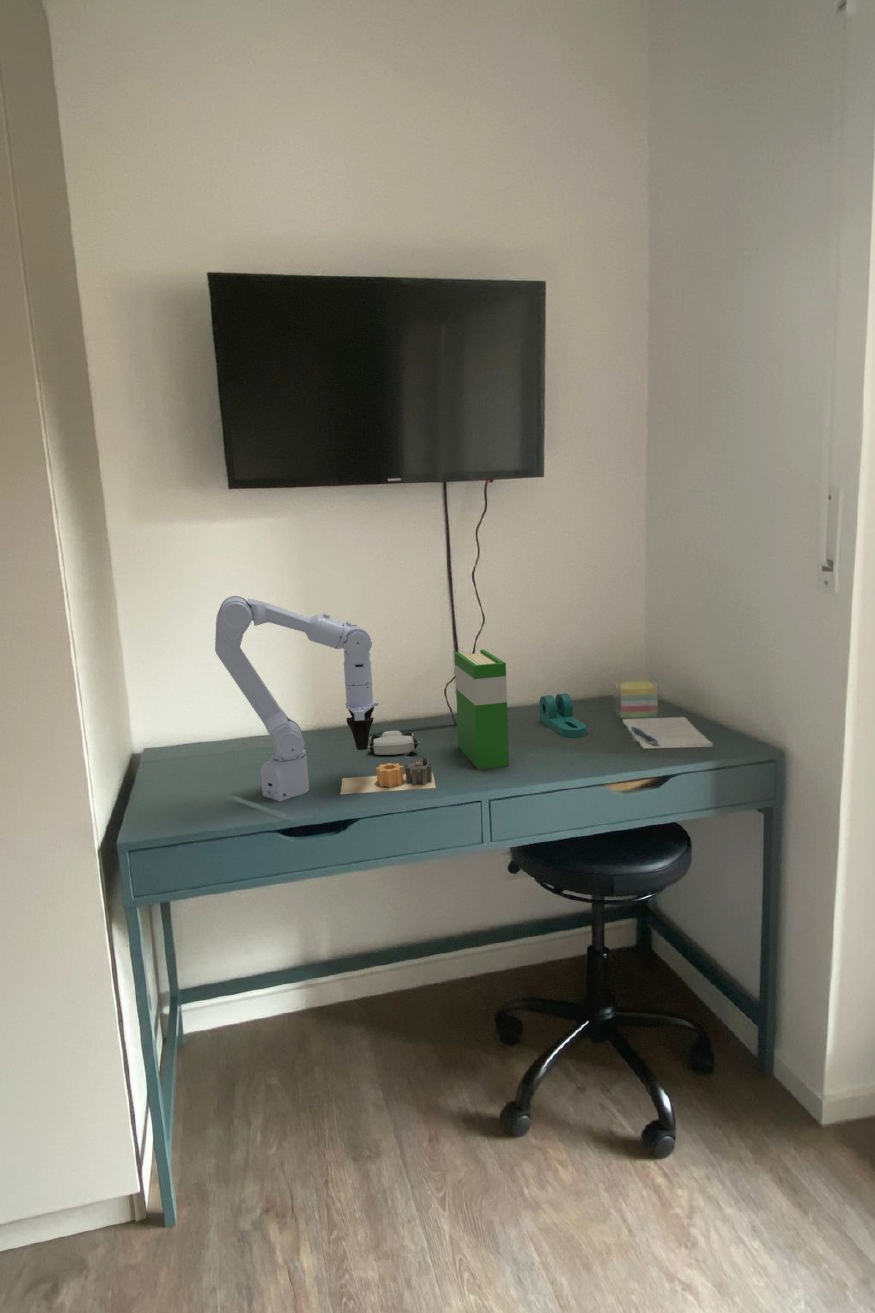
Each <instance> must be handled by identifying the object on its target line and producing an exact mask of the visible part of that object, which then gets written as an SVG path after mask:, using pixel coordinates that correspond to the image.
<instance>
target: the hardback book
mask: <svg viewBox="0 0 875 1313" xmlns="http://www.w3.org/2000/svg"><path fill="white" fill-rule="evenodd" d="M454 665H455V667H454V670H455V671H454V674H455V694H456V695H455V696H456V715H457V737H458V748H459V750H461V752H462V753H463V754H464V755H465V756H466V758H467V759H468V760H469V761H470V762H471V764H472V765H473V766H474V768H476V769H477V770H479V771H480V770H485V769H487V770H488V769H493V768H503V767H509V766H510V756H509V755H510V751H509V727H508V726H509V725H508V724H509V723H508V722H509V720H508V719H509V718H508V692H507V690H508V688H507V687H508V686H507V685H508V684H507V663H506V662H505V661H503V660H501V659H500V658H498V657H497V656H495V655H494V654H493V653H490V652H489V651H487V650H485V649H480V651H479V652H478V653H477V652H476V653H467V654H462V653H461V652H459V651H455V652H454Z"/></svg>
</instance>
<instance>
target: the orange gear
mask: <svg viewBox="0 0 875 1313" xmlns="http://www.w3.org/2000/svg"><path fill="white" fill-rule="evenodd" d="M375 768H376V769H375V770H376V776H377V784H380V786H381V787H383V786H389V787H393V786H396V785H398V786H399V785H401V782H404V778H403V774H404V765H401V763H398V762H396V763H392V762H388V763H385V764H379V765H378V766H377V767H375Z"/></svg>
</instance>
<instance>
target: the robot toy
mask: <svg viewBox="0 0 875 1313" xmlns="http://www.w3.org/2000/svg"><path fill="white" fill-rule="evenodd" d="M369 740H370V741H371V742H370V743H369V745H368V748H367V749H369V750H370V752H372V753H374V754H375V755H378V756H379V755H380V756H391V755H393V756H395V755H403V756H408V755H409V754H410V753H413V752H414V750H416V749H417V747H418V746H419V745H420V741H418V740H417V739H416V738H415V737H414V733H412V732H405V733H404V734H402V732H401V731H400V730H387V731H383V733H382V734H381V735H377V734H373V735H371V736H369Z"/></svg>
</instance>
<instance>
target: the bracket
mask: <svg viewBox="0 0 875 1313" xmlns="http://www.w3.org/2000/svg"><path fill="white" fill-rule="evenodd" d="M538 702H539V722H540V723H542V724H543V725H545V726H547V728H549V729H550V730H552V731H553V732H555V733H557V734H558V735H559V736H561V737H563V738H568V739H569V738H570V739H576V738H583V737H586V736H587V724H585V723H583V722H582V721H580V720H578V719H577V718H575V717H574V713H573V712H574V708H573V707H574V706H573V702H572V698H571V696H570V695H569V693H558V694H556V695H555V698H554V696H553V695H552V694H548V695H547V694H546V695H542V696H540V698H539V701H538Z"/></svg>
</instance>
